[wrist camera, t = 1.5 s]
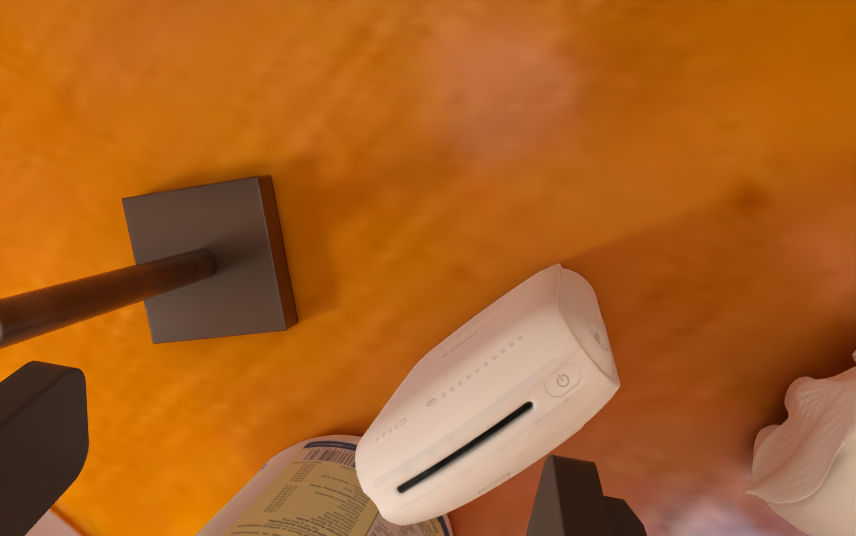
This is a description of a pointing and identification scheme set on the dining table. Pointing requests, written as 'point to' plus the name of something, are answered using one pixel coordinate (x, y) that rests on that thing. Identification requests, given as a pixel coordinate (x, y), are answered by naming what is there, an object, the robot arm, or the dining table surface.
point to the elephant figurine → (812, 457)
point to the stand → (180, 270)
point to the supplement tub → (312, 498)
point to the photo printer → (490, 399)
